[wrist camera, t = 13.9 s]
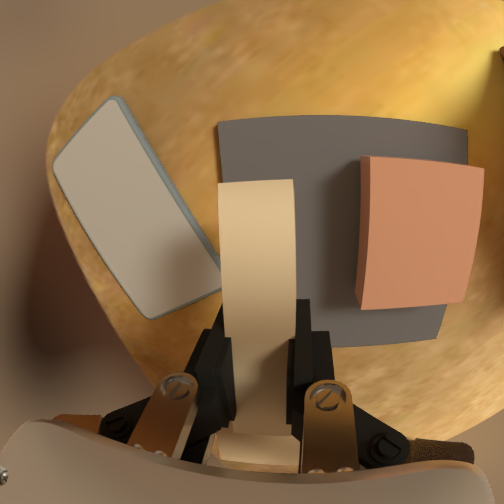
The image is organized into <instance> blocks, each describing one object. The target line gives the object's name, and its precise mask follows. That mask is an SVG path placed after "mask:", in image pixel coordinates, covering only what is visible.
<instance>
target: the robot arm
mask: <svg viewBox="0 0 504 504" xmlns="http://www.w3.org/2000/svg"><path fill="white" fill-rule="evenodd" d="M236 413H237V408H236V396H235V383H234V370H233V356H232V341H231V337H225V329H224V314H223V303H222V305H221V308H220V310H219V312H218V315H217V317H216V319H215V322H214V324H213V326H212V329H204V330H203V332H202V334H201V336H200V338H199V340H198V342H197V344H196V346H195V349H194V351H193V353H192V355H191V357H190V360H189V362H188V364H187V366H186V368H185V370H184V372H176V373H171V374H169V375H167V376H165V377H164V378H162V379H161V380H160V381H159V383H158V384H157V386H156V388H155V390H154V392H153V394H152V396H150V397H148V398H146V399H143V400H141V401H138V402H136V403H133V404H131V405H128V406H126V407H123V408H121V409H118V410H115V411H113V412H111V413H109V414H107V415H106V416H105V417H102V416H101V415H71V414H62V415H58V416H56V417H54V418H53V419H35V420H30V421H27V422H26V423H24V424H23V425H22V426H20V427H19V428H18V429H17V431H16V432H15V433H14V434H13V435H12V437H11V438H10V439H9V440H8V442H7V443H6V445H5V446H4V448H3V449H2V451H1V452H0V504H495V501H494V497H493V494H492V490H491V487H490V485H489V482H488V480H487V478H486V476H485V474H484V473H483V472H482V470H481V469H480V468H479V467H477V466H476V465H474V458H475V457H474V451H473V449H472V447H471V446H469V445H468V444H466V443H463V442H449V441H437V440H428V439H419V438H416V439H415V440H412V439H407V438H406V437H405V436H404V435H403V434H402V433H400V432H398V431H397V430H395V429H393V428H391V427H390V426H388V425H386V424H385V423H383V422H381V421H380V420H378V419H376V418H375V417H373V416H372V415H370V414H368V413H367V412H365V411H364V410H362V409H360V408H359V407H357V406H356V405H354V404H353V402H352V395H351V392H350V390H349V389H348V387H347V386H346V385H344V384H343V383H341V382H339V381H335V376H334V367H333V358H332V349H331V341H330V333H329V331H312V330H311V311H310V299H296V329H295V339H289V344H288V360H287V378H286V425H292V426H291V435H292V436H293V437H295V438H296V439H297V440H298V441H299V442H300V447H299V463H298V474H287V473H266V472H253V471H243V470H234V469H227V468H220V467H213V466H207V462H208V459H209V455H210V452H211V448H212V445H213V441H214V438H215V433H216V432H217V431H219V430H221V428H222V427H223V428H228V426H229V422H230V421H234V420H235V417H236Z"/></svg>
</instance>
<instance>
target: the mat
mask: <svg viewBox="0 0 504 504" xmlns="http://www.w3.org/2000/svg"><path fill="white" fill-rule="evenodd" d="M217 123H218V134H219V146H220V157H221V168H222V178H223V183H229V182H243V181H260V180H282V179H293V185H294V198H295V227H296V299H310V311H311V330H312V331H329V333H330V341H331V348H333V347H356V346H372V345H385V344H396V343H406V342H415V341H423V340H431V339H436V337H437V335H438V332H439V329H440V326H441V323H442V319H443V316H444V313H445V310H446V306H447V304H440V305H429V306H418V307H405V308H390V309H372V310H361V309H360V306H359V303H358V300H357V297H356V294H355V286H356V276H357V264H358V251H359V234H360V205H361V165H360V155H370V156H390V157H404V158H416V159H427V160H436V161H445V162H452V163H460V164H466V165H468V137H467V130H464V129H459V128H454V127H449V126H443V125H438V124H431V123H425V122H418V121H410V120H401V119H392V118H380V117H366V116H342V115H300V116H277V117H262V118H250V119H239V120H230V121H222V122H217Z"/></svg>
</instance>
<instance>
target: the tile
mask: <svg viewBox="0 0 504 504" xmlns="http://www.w3.org/2000/svg"><path fill="white" fill-rule="evenodd" d="M360 165H361V205H360V234H359V251H358V264H357V276H356V286H355V294H356V297H357V300H358V303H359V306H360V309H361V310H372V309H390V308H405V307H418V306H429V305H440V304H450V303H459V302H463V300H464V296H465V293H466V289H467V285H468V281H469V277H470V273H471V269H472V265H473V260H474V255H475V250H476V245H477V239H478V233H479V226H480V218H481V210H482V200H483V187H484V168H480V167H475V166H471V165H466V164H460V163H452V162H445V161H436V160H427V159H416V158H404V157H390V156H370V155H360Z"/></svg>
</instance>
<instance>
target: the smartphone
mask: <svg viewBox="0 0 504 504" xmlns="http://www.w3.org/2000/svg"><path fill="white" fill-rule="evenodd" d="M52 168H53V173H54V175H55V177H56V179H57V181H58V183H59V185H60V187H61V189H62V191H63V193H64V195H65V196H66V198H67V200H68V202H69V204H70V206H71V208H72V209H73V211H74V213H75V215H76V217H77V218H78V220H79V222H80V224H81V225H82V227H83V229H84V230H85V232H86V234H87V235H88V237H89V239H90V240H91V242H92V244H93V245H94V247H95V248H96V250H97V251H98V253H99V255H100V256H101V258H102V259H103V261H104V262H105V264H106V265H107V267H108V268H109V270H110V271H111V273H112V274H113V276H114V277H115V278H116V280H117V281H118V283H119V284H120V286H121V287H122V288H123V290H124V291H125V293H126V294H127V295H128V297H129V298H130V299H131V301H132V302H133V303H134V305H135V306H136V307H137V309H138V310H139V311H140V313H141V314H142V315H143V316H144V317H145V318H147V319H150V320H154V319H157V318H159V317H162V316H164V315H166V314H169V313H171V312H173V311H176V310H178V309H180V308H182V307H185V306H187V305H189V304H192V303H194V302H196V301H198V300H201V299H203V298H205V297H207V296H210V295H212V294H214V293H216V292H219V291H221V290H222V281H221V261H220V257H219V256H218V254H217V253H216V251H215V249H214V248H213V246H212V245H211V243H210V242H209V240H208V238H207V237H206V235H205V234H204V232H203V230H202V229H201V227H200V226H199V224H198V223H197V221H196V219H195V218H194V216H193V215H192V213H191V211H190V210H189V208H188V206H187V205H186V203H185V202H184V200H183V198H182V197H181V195H180V193H179V192H178V190H177V189H176V187H175V185H174V184H173V182H172V180H171V179H170V177H169V175H168V174H167V172H166V170H165V169H164V167H163V165H162V164H161V162H160V160H159V159H158V157H157V155H156V154H155V152H154V150H153V149H152V147H151V145H150V144H149V142H148V140H147V139H146V137H145V135H144V134H143V132H142V130H141V128H140V127H139V125H138V123H137V122H136V120H135V118H134V116H133V115H132V113H131V111H130V109H129V108H128V106H127V104H126V102H125V101H124V99H123V98H122V97H120V96H111V97H109V98H108V99H106V100H105V101H104V102H103V103H102V104H101V105H100V107H99V108H98V109H97V110H96V111H95V112H94V113H93V114H92V115H91V116H90V117H89V118H88V119H87V120H86V121H85V122H84V124H83V125H82V126H81V127H80V128H79V129H78V130H77V132H76V133H75V134H74V135H73V136H72V137H71V139H70V140H69V141H68V142H67V143H66V145H65V146H64V147H63V148H62V150H61V151H60V152H59V154H58V155H57V156H56V157H55V159H54V161H53V165H52Z"/></svg>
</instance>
